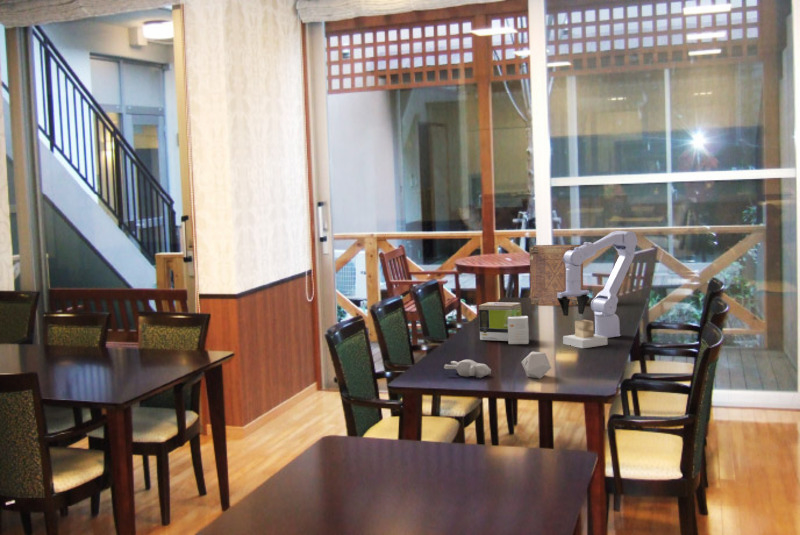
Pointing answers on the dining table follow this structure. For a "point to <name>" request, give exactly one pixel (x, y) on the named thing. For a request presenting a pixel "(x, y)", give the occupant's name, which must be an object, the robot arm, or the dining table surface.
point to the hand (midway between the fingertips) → (573, 314)
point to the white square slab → (585, 341)
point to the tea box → (496, 319)
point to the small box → (518, 330)
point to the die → (536, 364)
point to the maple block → (584, 328)
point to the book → (549, 274)
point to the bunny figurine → (469, 368)
